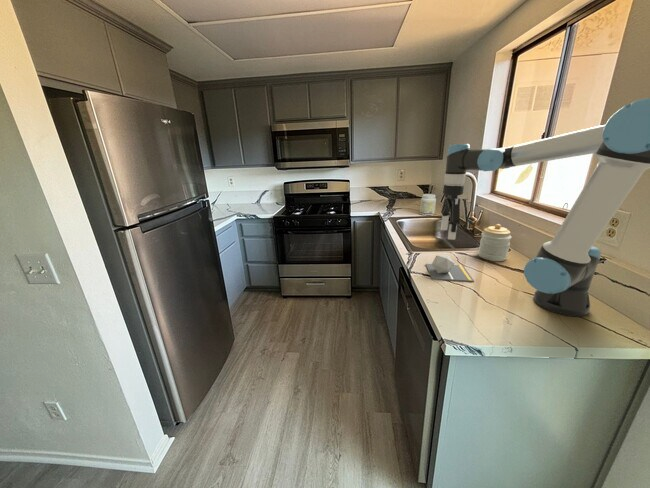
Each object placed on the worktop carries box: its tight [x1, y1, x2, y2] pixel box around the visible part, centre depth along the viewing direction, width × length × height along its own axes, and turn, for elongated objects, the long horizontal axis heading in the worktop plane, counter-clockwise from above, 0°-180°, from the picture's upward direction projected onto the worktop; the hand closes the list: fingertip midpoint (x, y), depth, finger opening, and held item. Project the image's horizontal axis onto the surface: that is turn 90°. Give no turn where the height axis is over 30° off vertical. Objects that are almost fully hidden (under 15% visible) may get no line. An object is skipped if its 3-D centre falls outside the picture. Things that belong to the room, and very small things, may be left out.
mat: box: [425, 263, 475, 283], centre depth 122 cm, size 16×17×1 cm
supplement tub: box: [419, 193, 437, 216], centre depth 226 cm, size 12×12×17 cm
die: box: [431, 254, 456, 273], centre depth 120 cm, size 8×9×10 cm
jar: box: [477, 223, 513, 262], centre depth 135 cm, size 13×13×18 cm
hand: (447, 234), depth 115 cm, fingers open, 13 cm apart
